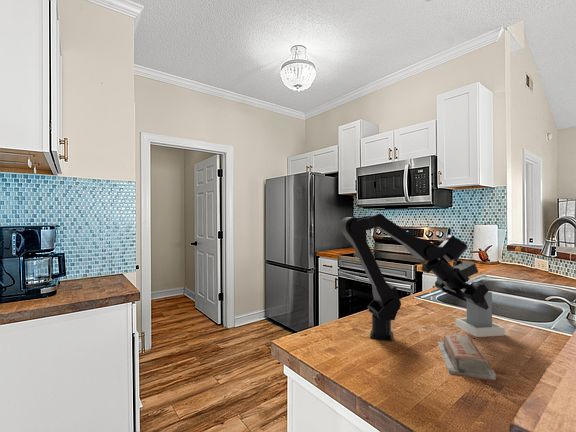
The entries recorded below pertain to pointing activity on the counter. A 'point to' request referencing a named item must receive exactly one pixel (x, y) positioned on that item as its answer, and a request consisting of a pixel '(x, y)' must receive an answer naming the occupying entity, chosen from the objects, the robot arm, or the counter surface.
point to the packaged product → (464, 357)
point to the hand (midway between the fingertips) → (476, 304)
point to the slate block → (480, 313)
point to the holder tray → (480, 329)
